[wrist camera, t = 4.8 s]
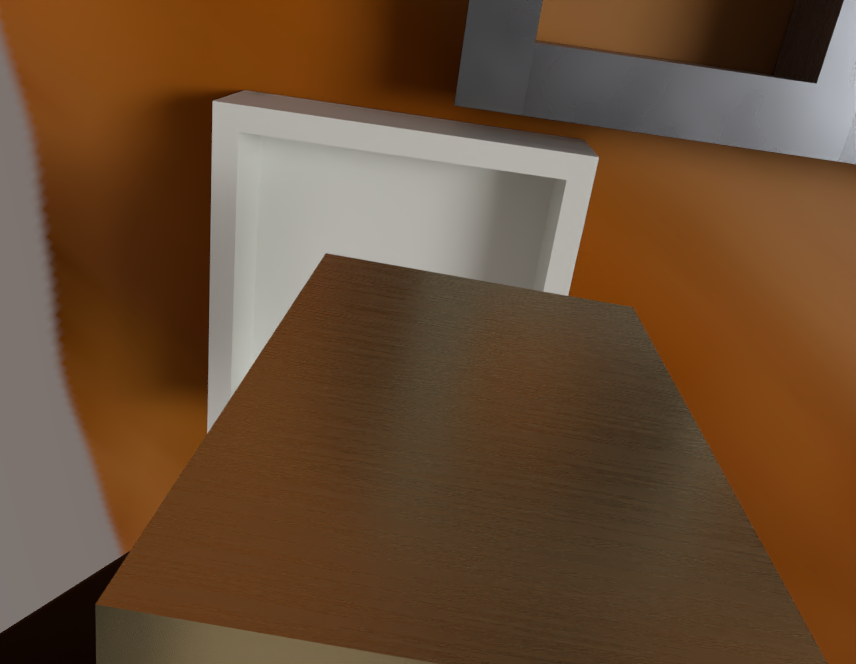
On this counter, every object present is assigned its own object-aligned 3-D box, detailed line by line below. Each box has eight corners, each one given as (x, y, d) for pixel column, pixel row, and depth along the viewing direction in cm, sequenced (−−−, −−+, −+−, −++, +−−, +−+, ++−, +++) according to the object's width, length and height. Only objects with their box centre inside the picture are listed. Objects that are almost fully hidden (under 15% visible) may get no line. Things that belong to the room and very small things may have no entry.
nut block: (560, 553, 12) (650, 1123, 6) (296, 507, 12) (101, 1029, 6) (632, 307, 11) (867, 738, 4) (325, 253, 11) (95, 603, 4)
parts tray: (521, 432, 22) (526, 480, 20) (235, 390, 22) (207, 433, 20) (584, 139, 19) (599, 157, 16) (244, 90, 19) (212, 100, 17)
